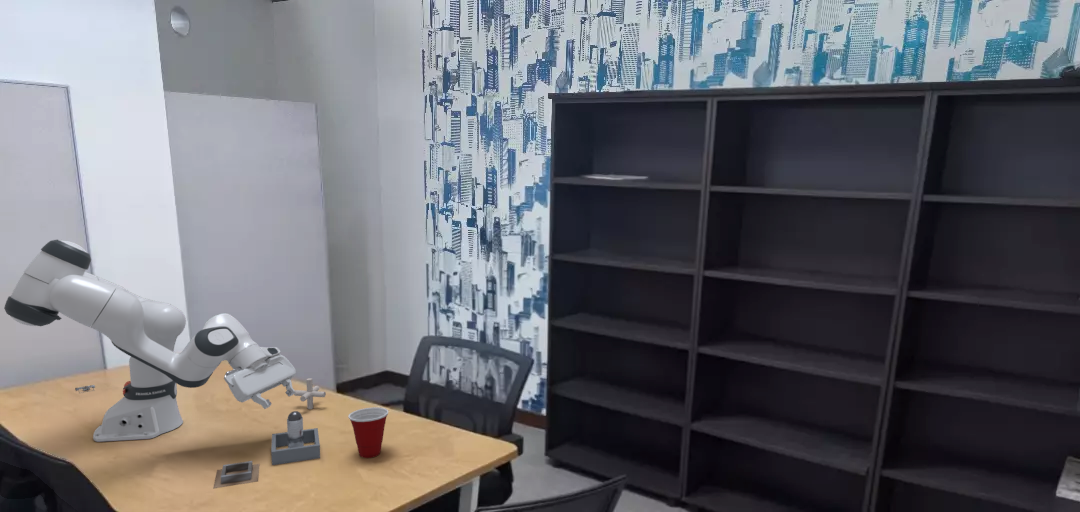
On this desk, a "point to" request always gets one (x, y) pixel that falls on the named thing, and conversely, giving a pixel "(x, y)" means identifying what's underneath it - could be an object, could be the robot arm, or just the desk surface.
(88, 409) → the desk surface
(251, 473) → the socket plate
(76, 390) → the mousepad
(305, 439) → the bin
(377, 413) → the plastic cup
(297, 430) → the strut
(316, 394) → the pipe connector
